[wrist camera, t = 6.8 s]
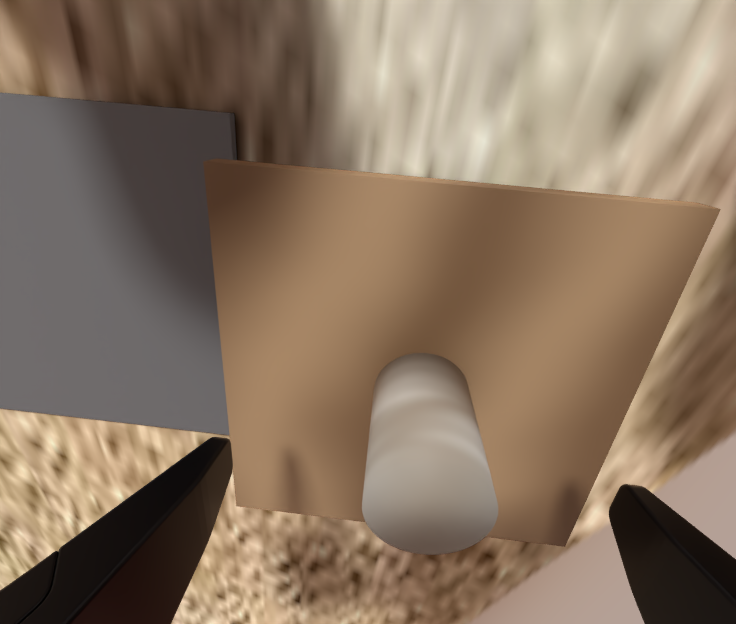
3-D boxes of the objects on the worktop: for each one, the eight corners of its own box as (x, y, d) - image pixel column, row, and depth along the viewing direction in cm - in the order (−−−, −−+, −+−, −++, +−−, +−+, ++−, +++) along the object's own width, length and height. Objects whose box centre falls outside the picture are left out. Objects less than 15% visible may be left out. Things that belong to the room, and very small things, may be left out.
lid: (697, 202, 10) (932, 267, 5) (556, 526, 15) (619, 690, 11) (217, 158, 10) (80, 185, 6) (244, 488, 15) (182, 630, 11)
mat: (234, 113, 13) (229, 112, 13) (253, 431, 19) (250, 437, 19) (-161, 78, 14) (-176, 77, 13) (-21, 399, 20) (-29, 404, 20)
